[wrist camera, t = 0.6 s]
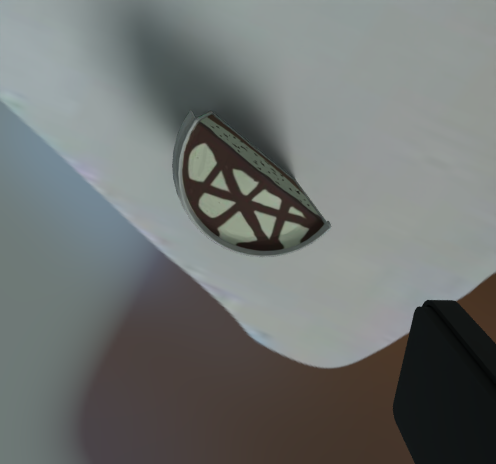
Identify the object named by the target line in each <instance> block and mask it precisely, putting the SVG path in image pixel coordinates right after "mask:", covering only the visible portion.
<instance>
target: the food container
mask: <svg viewBox="0 0 496 464" xmlns="http://www.w3.org/2000/svg"><path fill="white" fill-rule="evenodd" d="M172 167H173V179H174V183H175V187H176V191H177V194H178V197H179V199H180V201H181V204H182V206H183V208H184V210H185V212H186V213H187V215H188V217H189V218H190V220H191V221H192V223H193V224H194V225H195V226H196V227H197V228H198V229H199V231H200V232H201V233H203V234H204V235H205V236H206V237H207V238H209V239H210V240H211V241H213V242H214V243H216V244H218V245H219V246H221V247H223V248H225V249H228V250H230V251H232V252H235V253H239V254H243V255H248V256H256V257H274V256H280V255H285V254H289V253H292V252H295V251H298V250H300V249H302V248H304V247H306V246H308V245H310V244H312V243H313V242H315V241H316V240H318V239H319V238H321V237H322V236H323V235H324V234H325V233H326V232H328V231H329V230H330V229H331V224H330V222H329V221H326V220H325V219H324V217H323V216H322V215H321V213H320V212H319V211H318V209H317V208H316V207H315V205H314V204H313V203H312V201H311V200H310V199H309V197H308V196H307V194H306V193H305V192H304V190H303V189H302V188H301V186H300V185H299V184H298V182H297V181H296V180H295V179H294V178H293V177H291V176H290V175H289V174H288V173H286V172H285V171H284V170H283V169H282V168H280V167H279V166H278V165H277V164H275V163H274V162H273V161H272V160H271V159H269V158H268V157H267V156H266V155H264V154H263V153H262V152H261V151H259V150H258V149H257V148H256V147H255V146H253V145H252V144H251V143H250V142H248V141H247V140H246V139H245V138H244V137H242V136H241V135H240V134H239V133H237V132H236V131H235V130H234V129H233V128H231V127H230V126H229V125H228V124H226V123H225V122H224V121H223V120H222V119H220V118H219V117H218V116H217V115H215V114H214V113H213V112H212V111H210V112H208V113H206V114H204V115H202V116H200V117H198V118H196V117H195V116H194V114H193V112H192V111H191V110H190V112H189V113H188V115H187V117H186V118H185V120H184V121H183V123H182V126H181V128H180V131H179V133H178V135H177V139H176V143H175V147H174V151H173V164H172Z"/></svg>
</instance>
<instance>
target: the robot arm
mask: <svg viewBox="0 0 496 464" xmlns="http://www.w3.org/2000/svg"><path fill="white" fill-rule="evenodd" d="M393 413H394V418H395V421H396V424H397V426H398V428H399V430H400V432H401V434H402V437H403V439H404V441H405V443H406V445H407V447H408V450H409V452H410V454H411V456H412V458H413V460H414V463H415V464H496V344H495V343H494V342H493V341H492V339H491V338H490V337H489V336H488V335H487V334H486V333H485V332H484V331H483V330H482V328H481V327H480V326H479V325H478V324H477V323H476V322H475V321H474V320H473V319H472V318H471V317H470V316H469V314H468V313H467V312H466V311H465V310H464V309H463V308H462V307H461V306H460V305H459V304H458V303H457V302H456V301H452V300H427V301H425V302H424V304H423V306H422V307H417V308H416V310H415V312H414V316H413V320H412V325H411V329H410V333H409V338H408V342H407V347H406V351H405V355H404V359H403V364H402V368H401V372H400V377H399V381H398V385H397V390H396V394H395V398H394V403H393Z"/></svg>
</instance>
